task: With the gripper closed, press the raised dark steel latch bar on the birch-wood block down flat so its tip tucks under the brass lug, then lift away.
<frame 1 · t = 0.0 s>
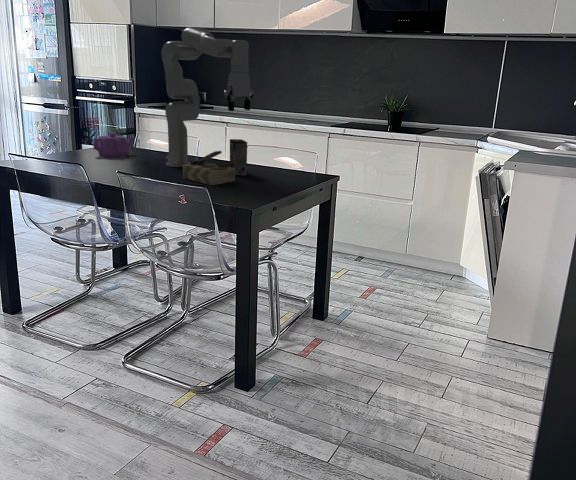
hand: (239, 110, 248), 31 cm above the table, tool pointing down, fingers open, 9 cm apart
coffee box: (238, 174, 270), on the table
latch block: (208, 179, 255), on the table
latch bar: (207, 157, 252), point 10 cm above the table, hinge at 25.0°
teakettle: (114, 156, 307), on the table
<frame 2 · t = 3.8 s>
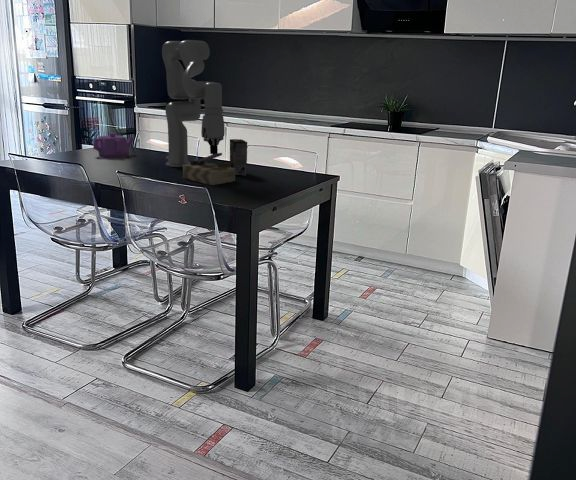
hand: (213, 153, 249), 12 cm above the table, tool pointing down, fingers closed
latch bar: (207, 158, 252), point 10 cm above the table, hinge at 21.6°, touching gripper
everything else where it was.
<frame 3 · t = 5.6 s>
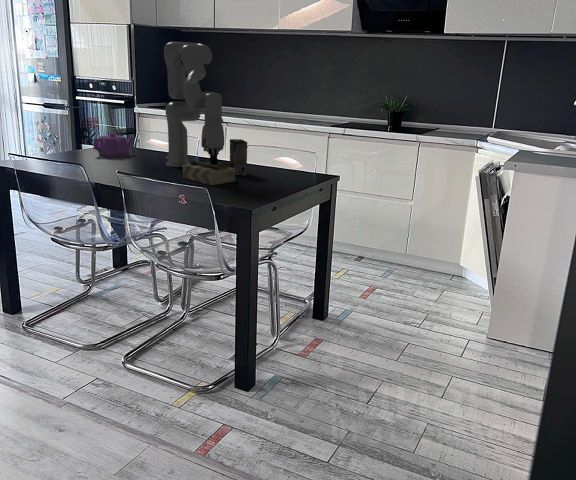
hand: (213, 163, 250), 8 cm above the table, tool pointing down, fingers closed
latch bar: (208, 164, 253), point 7 cm above the table, hinge at 3.6°, touching gripper
everything else where it was.
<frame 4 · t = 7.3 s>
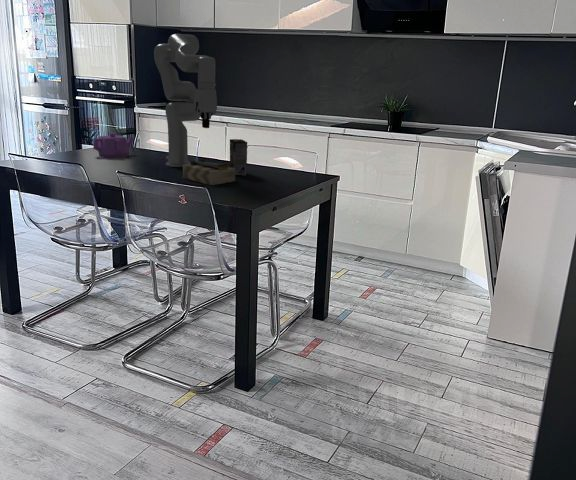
hand: (205, 127, 253), 23 cm above the table, tool pointing down, fingers closed
latch bar: (208, 164, 253), point 7 cm above the table, hinge at 3.5°
everything else where it was.
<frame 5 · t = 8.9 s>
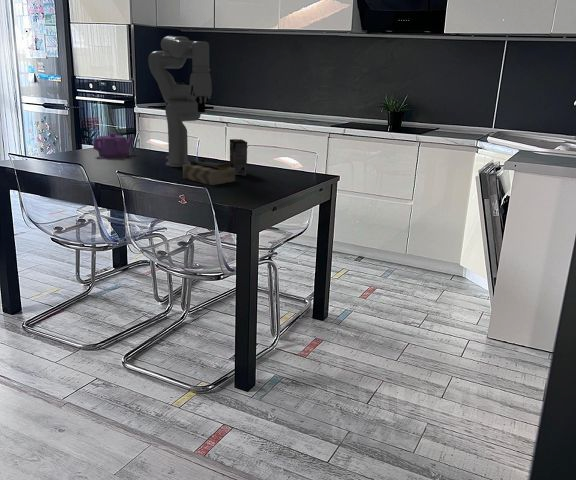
hand: (201, 112, 256), 29 cm above the table, tool pointing down, fingers closed
nothing on the table moved.
at the end: latch bar at +4° (first picture: +25°); coffee box moved 0.2 cm from its start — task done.
